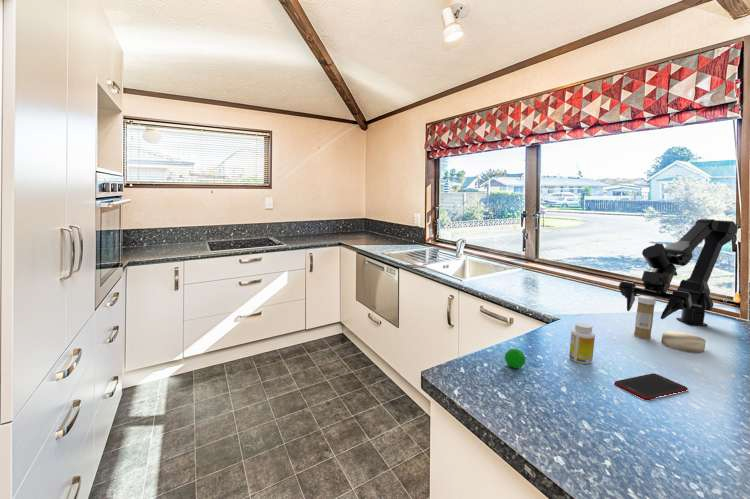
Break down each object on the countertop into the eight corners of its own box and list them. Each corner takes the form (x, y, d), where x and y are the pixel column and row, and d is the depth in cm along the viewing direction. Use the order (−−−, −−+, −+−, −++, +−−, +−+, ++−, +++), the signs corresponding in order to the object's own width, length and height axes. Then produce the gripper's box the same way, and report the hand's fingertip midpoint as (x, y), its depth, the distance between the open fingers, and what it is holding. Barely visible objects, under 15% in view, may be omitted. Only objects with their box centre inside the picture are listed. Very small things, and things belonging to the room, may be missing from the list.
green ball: (511, 372, 89) (512, 354, 88) (500, 363, 94) (501, 346, 93) (528, 370, 90) (529, 353, 89) (517, 362, 95) (518, 345, 94)
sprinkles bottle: (653, 337, 113) (658, 297, 111) (647, 340, 111) (652, 299, 109) (636, 332, 117) (641, 294, 115) (630, 335, 115) (635, 296, 113)
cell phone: (689, 392, 81) (690, 388, 81) (645, 402, 77) (646, 398, 77) (654, 376, 89) (654, 372, 89) (612, 385, 84) (612, 381, 84)
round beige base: (654, 338, 112) (655, 329, 112) (689, 341, 111) (690, 332, 110) (674, 351, 103) (675, 341, 102) (713, 354, 101) (714, 344, 100)
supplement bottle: (596, 362, 95) (600, 326, 94) (583, 366, 93) (587, 329, 91) (577, 354, 100) (580, 320, 99) (564, 357, 98) (567, 323, 96)
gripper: (624, 258, 121) (606, 293, 116) (694, 267, 106) (677, 307, 101) (630, 277, 127) (613, 311, 122) (698, 289, 111) (682, 328, 107)
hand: (644, 314), depth 113 cm, fingers open, 9 cm apart
